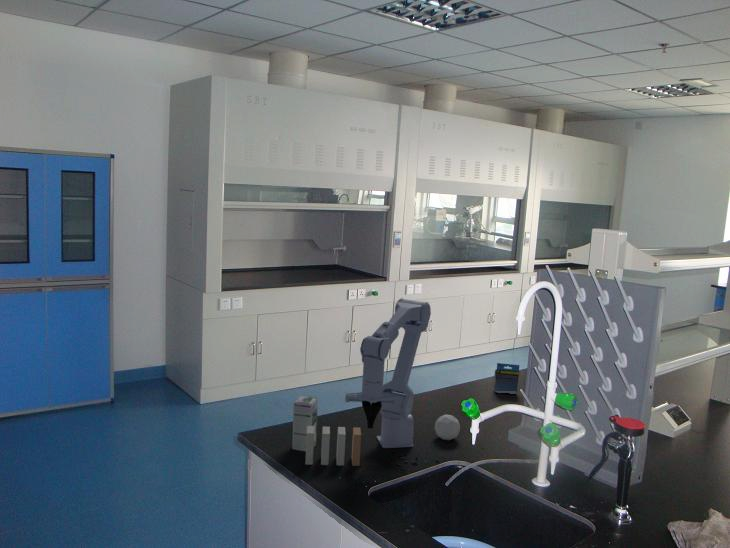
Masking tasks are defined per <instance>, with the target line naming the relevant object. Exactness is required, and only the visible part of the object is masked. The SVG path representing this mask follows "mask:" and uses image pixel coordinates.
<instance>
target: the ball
mask: <svg viewBox="0 0 730 548" xmlns="http://www.w3.org/2000/svg"><path fill="white" fill-rule="evenodd" d="M434 424H435V425H434V430H435V433H436V435H437V437H439V438H441V440H445V441H451V440H453V439H456V437H457V436H458V435H459V434H460V430H461V425H460V423H459V420H458V419H457V418H456V417H455V416H453V414H452V415H450V414H446V413H445V414H444V415H441V416H439V417H438V418H437V420H436V421H435V423H434Z"/></svg>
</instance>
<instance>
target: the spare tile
mask: <svg viewBox="0 0 730 548" xmlns="http://www.w3.org/2000/svg"><path fill="white" fill-rule="evenodd" d="M361 429H362V428H361V427H352V442H351V466H353V467H355V466H356V467H360V463H361V460H360V459H361V448H362V447H361V444H362V443H361V442H362V431H361Z"/></svg>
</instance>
